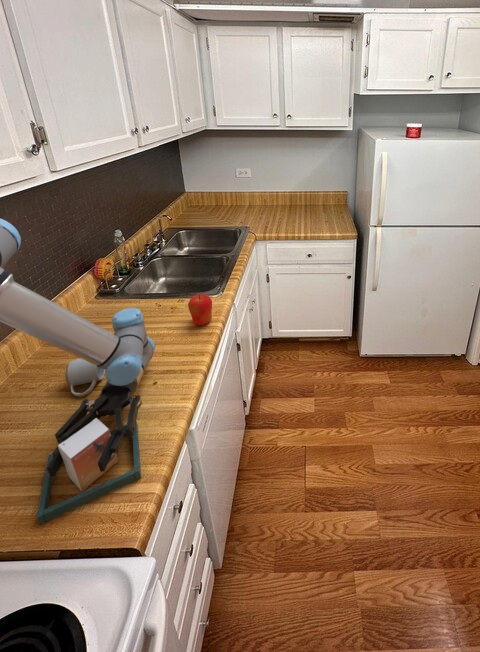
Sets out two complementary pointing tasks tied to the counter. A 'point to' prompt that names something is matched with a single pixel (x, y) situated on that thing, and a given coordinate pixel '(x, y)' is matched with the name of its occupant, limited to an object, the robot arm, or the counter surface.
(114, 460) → the small box
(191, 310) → the apple
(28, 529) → the counter surface
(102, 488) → the empty rectangular frame
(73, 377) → the ceramic mug
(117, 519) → the counter surface
